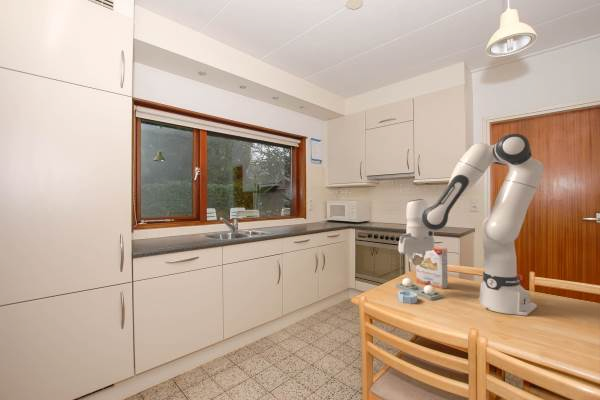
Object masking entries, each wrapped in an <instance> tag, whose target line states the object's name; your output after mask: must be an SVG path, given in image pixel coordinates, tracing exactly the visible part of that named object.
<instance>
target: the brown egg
mask: <svg viewBox="0 0 600 400" xmlns="http://www.w3.org/2000/svg"><path fill="white" fill-rule="evenodd" d="M412 257H413V258H414V262H411V264H412V265H414V266H416V265H420V264H421V263H422V258H421V257H420V256H419V255H416V254H414V255H412Z"/></svg>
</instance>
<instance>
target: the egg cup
mask: <svg viewBox="0 0 600 400" xmlns="http://www.w3.org/2000/svg"><path fill="white" fill-rule="evenodd" d="M397 301H398V302H400V303H403V304H409V305H413V304H417V303H418V295H417V293H415V292H412V291H405V290H402V289H401V290H398V291H397Z"/></svg>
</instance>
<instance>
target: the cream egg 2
mask: <svg viewBox="0 0 600 400" xmlns="http://www.w3.org/2000/svg"><path fill="white" fill-rule="evenodd" d="M423 288H424V293H425V294H426V295H429V296H433V295H434V294H435V292H436V289H435V287H433V286H431V285H424V287H423Z"/></svg>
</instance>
